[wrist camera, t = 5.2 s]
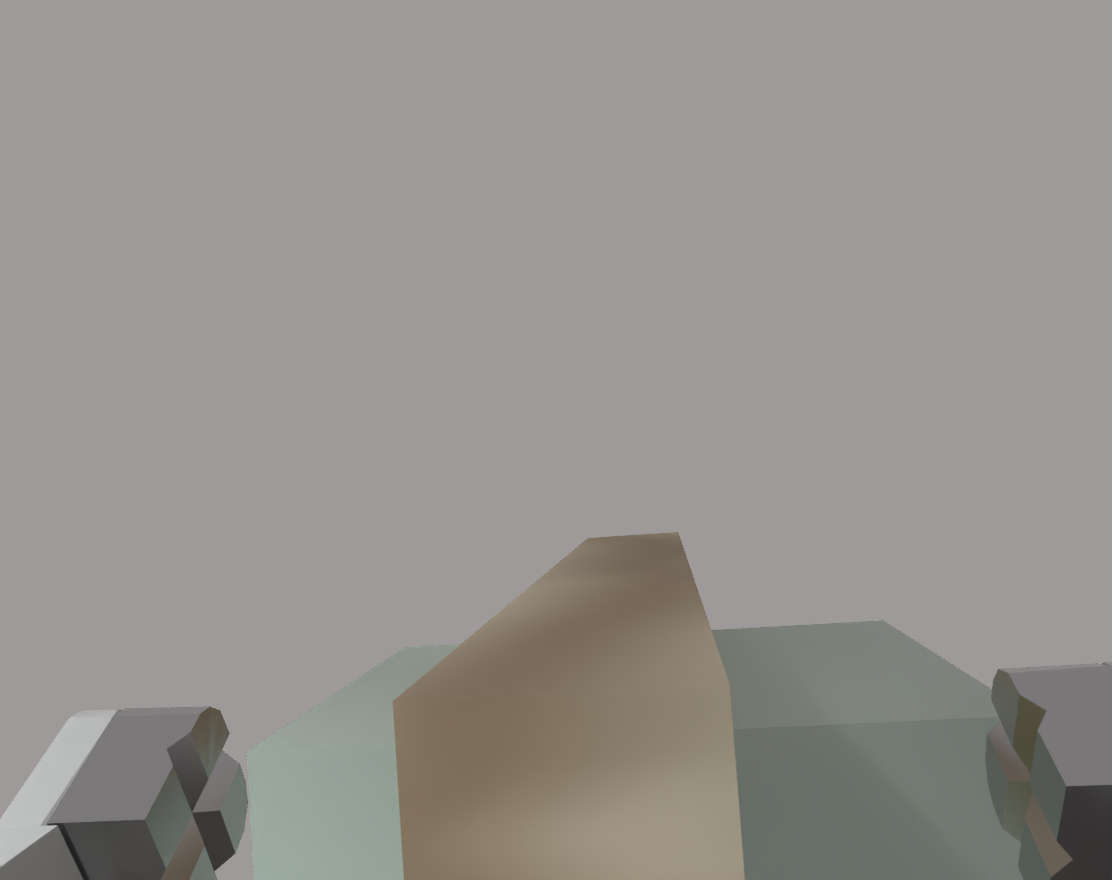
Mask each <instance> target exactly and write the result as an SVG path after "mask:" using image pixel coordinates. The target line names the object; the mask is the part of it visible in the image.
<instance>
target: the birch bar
mask: <svg viewBox="0 0 1112 880" xmlns="http://www.w3.org/2000/svg"><path fill="white" fill-rule="evenodd" d="M393 715H394V731H395V747H396V763H397V779H398V795H399V810H400V826H401V842H402V858H403V874H404V880H745V875H744V862H743V849H742V836H741V824H740V811H739V798H738V785H737V772H736V759H735V746H734V734H733V721H732V708H731V695H730V684H729V681H728V678H727V675H726V672H725V669H724V666H723V663H722V660H721V657H720V654H719V651H718V648H717V645H716V642H715V639H714V637H713V634H712V631H711V628H710V625H709V622H708V619H707V616H706V613H705V610H704V607H703V604H702V602H701V599H700V595H699V592H698V589H697V587H696V584H695V581H694V578H693V575H692V572H691V569H690V566H689V563H688V560H687V557H686V554H685V551H684V548H683V545H682V542H681V540H680V536H679V534H678V532H676V533H675V532H674V533H659V534H645V535H629V536H613V537H600V538H599V537H598V538H588V539H586V540H585V541H584V542H583V543H582V544H580V545H579V546H578V547H577V548H576V549H574V551H572V552H571V553H570V554H569V555H567V556H566V557H565V558H564V559H562V560H561V561H560V562H559V563H558V564H557V565H555V566H554V567H553V568H552V569H550V570H549V571H548V572H547V573H546V574H544V575H543V576H542V577H541V578H540V579H538V580H537V581H536V582H535V583H534V584H532V585H531V586H530V587H529V588H528V589H526V590H525V591H524V592H523V593H522V594H520V596H518V597H517V598H516V599H514V600H513V601H512V602H511V603H510V604H508V605H507V606H506V607H505V608H504V609H502V610H501V611H500V612H499V613H498V614H497V615H495V616H494V617H493V618H492V619H491V620H489V621H488V622H487V623H486V624H485V625H483V626H482V627H481V628H480V629H479V630H477V631H476V632H475V633H474V634H473V635H471V636H470V637H469V638H468V639H467V640H465V641H464V642H463V643H462V644H461V645H459V646H458V647H457V648H456V649H455V650H453V651H452V652H451V653H450V654H449V655H447V656H446V657H445V658H444V659H443V660H441V661H440V662H439V663H438V664H437V665H435V666H434V667H433V668H432V669H431V670H429V671H428V672H427V673H426V674H425V675H423V676H422V677H421V678H420V679H419V680H417V681H416V682H415V683H414V684H413V685H411V686H410V687H409V688H408V689H407V690H405V691H404V692H403V693H402V694H401V695H399V696H398V697H397V698H396V699H395V700H393Z"/></svg>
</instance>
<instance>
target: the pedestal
mask: <svg viewBox="0 0 1112 880" xmlns="http://www.w3.org/2000/svg"><path fill="white" fill-rule="evenodd" d="M711 631H712V634H713V637H714V639H715V642H716V645H717V648H718V651H719V654H720V657H721V660H722V663H723V666H724V669H725V672H726V675H727V678H728V681H729V684H730V695H731V708H732V721H733V734H734V746H735V759H736V772H737V785H738V798H739V811H740V824H741V836H742V849H743V862H744V875H745V880H1023V877H1022V875H1021V873H1020V870H1019V868H1018V861H1019V854H1020V846H1021V842H1020V841H1018V840H1017V839H1016V838H1014V837H1013V836H1012V835H1010V834H1009V833H1008V832H1006V831H1005V830H1004V829H1002V827H1001V824H1000V822H999V819H998V817H997V814H996V811H995V809H994V806H993V802H992V799H991V795H990V791H989V788H988V781H987V772H986V763H985V753H986V740H987V733H988V732H989V731H990V730H991V729H992V728H993V727H994V726H995V725H996V724H997V723H998V722H999V721H1000V719H999V717H998V714H997V712H996V710H995V708H994V705H993V703H992V701H991V694H992V689H990V688H989V687H987V686H985V685H984V684H982V683H981V682H979V681H978V680H976V679H974V678H973V677H971V676H970V675H968V674H967V673H965V672H963V671H962V670H960V669H959V668H957V667H956V666H954V665H952V664H951V663H949V662H948V661H946V660H945V659H943V658H941V657H940V656H938V655H937V654H935V653H934V652H932V651H930V650H929V649H927V648H926V647H924V646H923V645H921V644H919V643H918V642H916V641H915V640H913V639H911V638H910V637H908V636H907V635H905V634H904V633H902V632H901V631H899V630H897V629H896V628H894V627H893V626H891V625H889V624H888V623H886V622H884V621H867V622H851V623H832V624H814V625H796V626H779V627H761V628H744V629H743V628H742V629H725V630H711ZM459 645H461V644H458V645H440V646H421V647H405V648H403V649H401V650H400V651H398V652H397V653H395V654H394V655H392V656H391V657H389V658H388V659H386V660H385V661H383V662H382V663H380V664H379V665H377V666H376V667H374V668H373V669H371V670H370V671H368V672H367V673H365V674H364V675H362V676H361V677H359V678H358V679H356V680H355V681H353V682H351V683H350V684H349V685H347V686H345V687H344V688H342V689H341V690H340V691H338V692H336V693H335V694H333V695H332V696H331V697H329V698H327V699H326V700H324V701H323V702H321V703H320V704H318V705H317V706H315V707H314V708H312V709H311V710H309V711H308V712H306V713H305V714H303V715H302V716H300V717H299V718H297V719H296V720H294V721H293V722H291V723H290V724H288V725H287V726H285V727H284V728H282V729H281V730H279V731H278V732H276V733H274V734H273V735H272V736H270V737H268V738H267V739H266V740H264V741H262V742H261V743H259V744H258V745H256V746H255V747H253V748H252V749H251V750H249V751H247V761H248V780H249V798H250V815H251V833H252V851H253V868H254V880H404V874H403V858H402V842H401V826H400V810H399V795H398V779H397V763H396V747H395V731H394V715H393V700H395V699H396V698H397V697H398V696H399V695H401V694H402V693H403V692H404V691H405V690H407V689H408V688H409V687H410V686H411V685H413V684H414V683H415V682H416V681H417V680H419V679H420V678H421V677H422V676H423V675H425V674H426V673H427V672H428V671H429V670H431V669H432V668H433V667H434V666H435V665H437V664H438V663H439V662H440V661H441V660H443V659H444V658H445V657H446V656H447V655H449V654H450V653H451V652H452V651H453V650H455V649H456V648H457V647H458V646H459Z"/></svg>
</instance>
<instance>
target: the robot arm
mask: <svg viewBox="0 0 1112 880" xmlns="http://www.w3.org/2000/svg"><path fill="white" fill-rule="evenodd" d="M991 701H992V703H993V705H994V708H995V710H996V712H997V714H998V717H999V719H1000V721H999V722H998V723H997V724H996V725H995V726H994V727H993V728H992V729H991V730H990V731H989V732H988V733H987V740H986V753H985V763H986V772H987V781H988V788H989V791H990V795H991V799H992V802H993V806H994V809H995V811H996V814H997V817H998V819H999V822H1000V824H1001V827H1002V829H1004V830H1005V831H1006V832H1008V833H1009V834H1010V835H1012V836H1013V837H1014V838H1016V839H1017V840H1018V841H1020V842H1021V846H1020V854H1019V861H1018V868H1019V870H1020V873H1021V875H1022V877H1023V880H1112V662H1104V663H1102V664H1080V665H1062V666H1043V667H1026V668H1009V669H1008V668H1007V669H998V671H997V673H996V675H995V678H994V680H993V687H992V694H991ZM228 735H229V731H228V729H227V726H226V724H225V721H224V719H223V716H222V714H221V711H220V710H217V709H215V708H212V707H172V708H130V709H124V710H83V711H81V712H79V713H77V714H76V715H74V716H72V717H71V718H69V719H68V721H67V722H66V723H65V725H64V726H63V728H62V729H61V731H60V732H59V734H58V735H57V737H56V738H55V740H54V741H53V742H52V744H51V745H50V747H49V748H48V750H47V751H46V753H45V754H44V756H43V757H42V759H41V760H40V762H39V763H38V764H37V766H36V768H35V769H34V770H33V772H32V773H31V775H30V776H29V778H28V779H27V781H26V782H25V783H24V785H23V786H22V788H21V789H20V791H19V792H18V794H17V795H16V797H15V798H14V800H13V801H12V803H11V804H10V805H9V807H8V808H7V810H6V811H5V813H4V815H3V816H2V817H1V819H0V880H217V878H216V875H215V872H214V871H215V870H217V869H218V868H219V867H220V866H221V865H222V864H224V863H225V862H226V861H227V860H228V859H229V858H231V857H232V856H233V855H234V854H235V853H236V851H237V848H238V845H239V843H240V840H241V837H242V834H243V832H244V827H245V821H246V813H247V805H248V799H247V790H246V781H245V778H244V775H243V772H242V769H241V766H240V764H239V763H238V762H237V761H235V760H234V759H233V758H231V757H230V756H229V755H228V754H226V753H225V752H224V751H223V750H222V749H223V747H224V744H225V742H226V740H227V738H228Z"/></svg>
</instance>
